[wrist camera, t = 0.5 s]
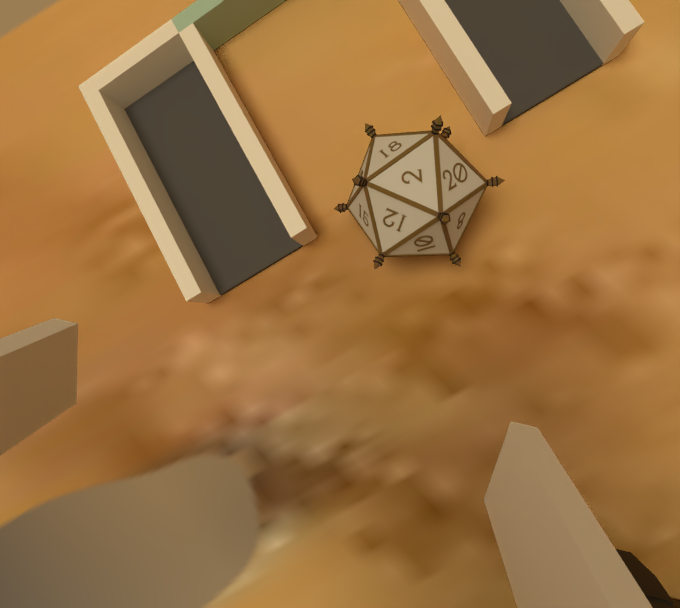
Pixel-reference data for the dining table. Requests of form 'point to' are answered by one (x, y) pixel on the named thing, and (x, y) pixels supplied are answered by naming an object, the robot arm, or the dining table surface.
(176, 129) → the pads
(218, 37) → the trap box
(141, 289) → the dining table surface
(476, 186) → the game die
